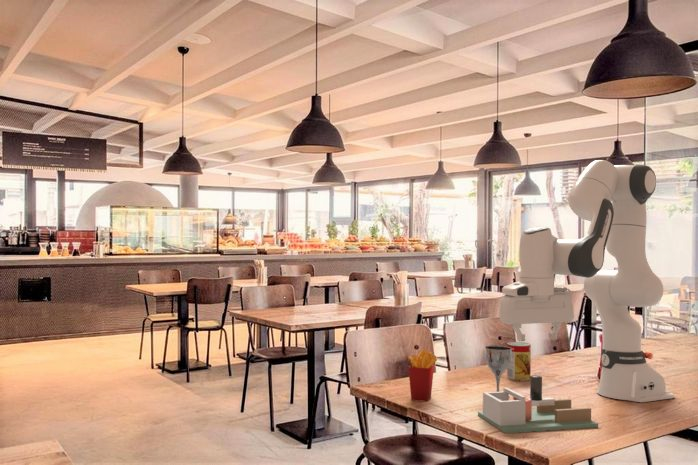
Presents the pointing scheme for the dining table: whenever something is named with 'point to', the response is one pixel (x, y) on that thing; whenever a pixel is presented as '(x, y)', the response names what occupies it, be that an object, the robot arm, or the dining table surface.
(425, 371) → the french fries
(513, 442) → the dining table surface
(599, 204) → the robot arm
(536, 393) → the kicker
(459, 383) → the dining table surface
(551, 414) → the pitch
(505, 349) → the wine glass
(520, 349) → the canned food
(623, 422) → the dining table surface
